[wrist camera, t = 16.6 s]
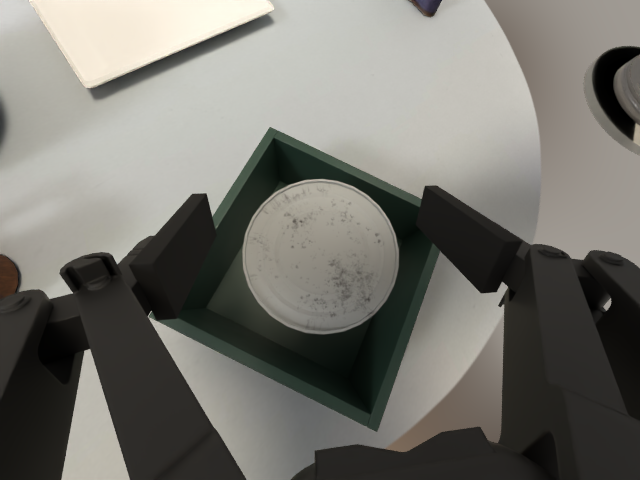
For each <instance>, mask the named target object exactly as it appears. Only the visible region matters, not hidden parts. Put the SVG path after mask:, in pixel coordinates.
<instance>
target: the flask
mask: <svg viewBox="0 0 640 480" xmlns="http://www.w3.org/2000/svg"><path fill="white" fill-rule="evenodd" d="M409 1H411V2H413V3H414V5H415V6H417V7H418V9H419V10H420V11H421V12H422V13H423V14H424V15H426V16H429V17H431V16H433V15H435V13H436V11H437V9H438V7H439V5H440V3H441V1H442V0H409Z"/></svg>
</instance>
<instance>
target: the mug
mask: <svg viewBox="0 0 640 480" xmlns="http://www.w3.org/2000/svg"><path fill="white" fill-rule="evenodd" d="M17 285H18V272H17V270H16V268H15V265H14V263H12V262H11V261H10V260H9V259H8V258H7V257H5V256H3V255H0V299H2V298H5V297H6V296H8V295H11V294H15V291H16V288H17Z"/></svg>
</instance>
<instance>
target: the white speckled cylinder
mask: <svg viewBox="0 0 640 480" xmlns="http://www.w3.org/2000/svg"><path fill="white" fill-rule="evenodd" d="M242 256H243V270H244V273H245V276H246V280H247V283H248V286H249V288H250V290H251V291H252V293H253V295H254V297H255V298H256V300H257V302H258V303H259V304H260V305H261V306H262V307H263V308H264V309H265V310H266V311H267V312H268V313H269V315H270V316H272V317H273V318H275V319H276V320H278V321H279V322H281V323H283V324H284V325H286V326H287V327H290V328H293V329H296V330H299V331H302V332H305V333H314V334H331V333H337V332H343V331H346V330H348V329H351V328H353V327H356V326H358V325H360V324H362V323H363V322H364V321H366V320H367V319H369V318H370V317H371V316H373V315H374V314H375V313H376V312H377V311H378V310H379V309H380V307H381V306H382V305H383V304H384V303H385V301H386V300H387V298H388V296H389V294H390V292H391V291H392V289H393V287H394V284H395V280H396V276H397V272H398V268H399V249H398V244H397V239H396V234H395V232H394V230H393V227H392V225H391V223H390V221H389V219H388V217H387V216H386V215H385V213H384V212H383V210H382V209H381V208H380V206H379V205H378V204H377V203H376V202H375V201H373V200H372V199H371V198H370V197H369V196H368V195H367V194H365V193H363V192H362V191H360V190H358V189H357V188H355V187H353V186H351V185H348V184H345V183H342V182H339V181H334V180H326V179H313V180H304V181H300V182H297V183H294V184H290V185H288V186H286V187H284V188H282V189H281V190H279V191H277V192H275V193H274V194H273V195H272V196H270V197H269V198H268V199H267V200H266V201H265V202H264V203H262V205H261V206H260V207H259V209H258V210H257V211H256V213H255V214H254V215H253V217H252V219H251V221H250V223H249V226H248V228H247V230H246V233H245V238H244V243H243V249H242Z"/></svg>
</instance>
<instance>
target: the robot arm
mask: <svg viewBox="0 0 640 480" xmlns="http://www.w3.org/2000/svg"><path fill="white" fill-rule="evenodd" d="M613 86H614V92H615V95H616V98H617V100H618V102H619V104H620V106H621V107H622V108H623V110H624V111H625V112H626V113H627V115H628V116H629V117H630V118H631V119H632V120H634V121H635V122H636V123H637V124H639V125H640V55H638V56H636V57H635V58H633V59H632V60H630V61H629V62H628V63H626V64H625V65H623V66H622V67H621V68H620V69H619V70H618V71H617V72H616V74H615V76H614V82H613ZM416 226H417V227H418V228H419V229H420V230H421V231H422V232H423V233H424V234H425V235H426V236H427V237H428V238H429V239H430V240H431V242H432V243H433V244H434V245H435V246H436V247H437V248H438V249H439V250H440V251H441V252H442V253H443V254H444V255H445V256H446V257H447V258H448V259H449V260H450V261H451V262H452V263H453V265H454V266H455V267H456V268H457V269H458V270H459V271H460V272H461V273H462V274H463V275H464V276H465V277H466V278H467V279H468V280H469V281H470V282H471V283H472V284H473V285H474V286H475V288H476V289H477V290H478V291H479V292H480V293H491V292H497V290H498V288H499V286H500V284H501V282H502V281H503V282H504V283H505V284H506V285H507V286H508V289H507V290H506V292H505V294H504V296H503V298H502V300H501V301H500V303H499V305H498V306H499V307H501V306H502V305H503V304H505V305H504V345H503V346H504V347H503V386H502V387H503V388H502V427H501V436H500V440H499V442H498V443H494V442H491V441H488V440H487V438H486V436H485V435H484V433H483V431H482V429H481V428H480V427H474V428H467V429H460V430H454V431H447V432H441V433H440V434H438V435H436V436H434V437H432V438H431V439H429V440H427V441H425V442H424V443H422V444H420V445H418V446H417V447H415V448H413V449H411V450H410V451H407V452H397V451H392V450H386V449H380V448H375V447H369V446H364V445H358V444H357V445H350V446H343V447H336V448H329V449H322V450H315V463H314V464H312V465H310V466H308V467H306V468H304V469H303V470H302V471H300V472H299V473H298V474H296V475H295V476H294V477H293V478H292V479H291V480H640V268H638V267H637V266H636V265H635V264H634V263H632V262H630V261H629V260H628V259H626V258H623V257H621V256H620V255H618V254H614V253H612V252H605V251H597V250H593V251H590V252H589V253H588V255H587V256H586V257H585V259H584V260H577V259H571V258H570V256H569V255H568V254H566V253H565V252H563V251H561V250H559V249H557V248H554V247H552V246H547V245H542V244H534V245H530V244H528V243H526V242H525V241H523V240H522V239H520V238H519V237H517V236H515V235H514V234H512V233H510V232H509V231H508V230H506V229H504V228H503V227H501V226H500V225H498V224H497V223H495V222H493V221H491V220H490V219H488V218H487V217H485V216H483V215H482V214H480V213H479V212H477V211H476V210H474V209H472V208H471V207H469V206H468V205H466V204H465V203H463V202H461V201H460V200H458V199H457V198H455V197H454V196H452V195H451V194H449V193H447V192H446V191H444V190H443V189H441V188H440V187H438V186H425V188H424V192H423V196H422V201H421V205H420V209H419V213H418V217H417V222H416ZM216 236H217V234H216V230H215V226H214V222H213V218H212V214H211V210H210V206H209V202H208V198H207V194H192V195H191V196H190V197H189V198H188V199H187V200H186V202H185V203H184V204H183V205H182V206H181V207H180V208H179V209H178V210H177V212H176V213H175V214H174V215H173V216H172V217H171V218H170V219H169V221H168V222H167V223H166V224H165V225H164V226H163V227H162V228H161V229H160V231H159V232H158V233H157V234H156V235H155V236H149V237H147V238H145V239H144V240H142V241H140V242H139V243H138V244H137V245H136V246H135V247H134V248H133V250H131V251H130V252H129V253H128V254H127V256H125V257H124V258H123V259H122V261H121V262H120V263H119V264H118V265H117V263H116V262H115V260H114V258H113V256H112V255H111V254H109V253H104V252H100V253H92V254H89V255H85V256H82V257H79V258H77V259H74V260H72V261H71V262H69V263H67V264H66V265H65V266H64V267H63V268H61V270H60V273H59V274H60V275H61V276H62V278H63V279H64V281H65V282H66V283H67V285H68V286H69V288H70V289H71V291H72V292H73V294H69V295H65V296H61V297H57V298H53V299H49V298H48V297H47V295H46V294H45V293H44V292H43V291H41V290H27V291H22V292H19V293H16V294H11V295H8V296H6V297H5V298H2V299H0V480H61V478H62V472H63V467H64V461H65V456H66V450H67V444H68V439H69V433H70V428H71V422H72V417H73V411H74V405H75V400H76V394H77V389H78V383H79V378H80V372H81V366H82V361H83V355H84V350H88V349H91V352H92V356H93V359H94V362H95V366H96V369H97V372H98V375H99V379H100V382H101V385H102V389H103V392H104V395H105V398H106V402H107V405H108V408H109V412H110V415H111V418H112V421H113V425H114V428H115V431H116V435H117V438H118V441H119V444H120V448H121V451H122V454H123V458H124V461H125V464H126V467H127V471H128V474H129V477H130V480H246V478H245V476H244V475H243V473H242V471H241V470H240V468H239V466H238V465H237V463H236V461H235V460H234V458H233V456H232V455H231V453H230V451H229V450H228V448H227V446H226V445H225V443H224V441H223V440H222V438H221V437H220V435H219V433H218V432H217V430H216V429H215V428H214V427H213V425H212V424H211V422H210V421H209V419H208V417H207V416H206V414H205V412H204V411H203V409H202V407H201V406H200V404H199V402H198V400H197V399H196V397H195V395H194V394H193V392H192V390H191V389H190V387H189V385H188V384H187V382H186V380H185V379H184V377H183V375H182V374H181V372H180V370H179V369H178V367H177V365H176V364H175V362H174V360H173V359H172V357H171V355H170V354H169V352H168V350H167V348H166V347H165V345H164V343H163V342H162V340H161V338H160V337H159V335H158V333H157V332H156V330H155V328H154V327H153V325H152V323H151V322H150V320H149V318H148V317H147V316H148V315H149V313H150V311H152V313H153V315H154V317H155V319H156V321H158V320H170V319H177V318H178V316H179V313H180V311H181V309H182V307H183V305H184V303H185V301H186V299H187V297H188V295H189V292H190V290H191V288H192V286H193V284H194V282H195V280H196V278H197V276H198V274H199V271H200V269H201V267H202V265H203V263H204V261H205V259H206V257H207V255H208V253H209V250H210V248H211V246H212V244H213V242H214V240H215V238H216ZM610 298H611V301H612V302H611V306H610V308H609V309H608V310H607V311H606V310H605V309H604V308H603V306H604V305H605V304H606V302H607V301H608V300H609V299H610Z"/></svg>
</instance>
